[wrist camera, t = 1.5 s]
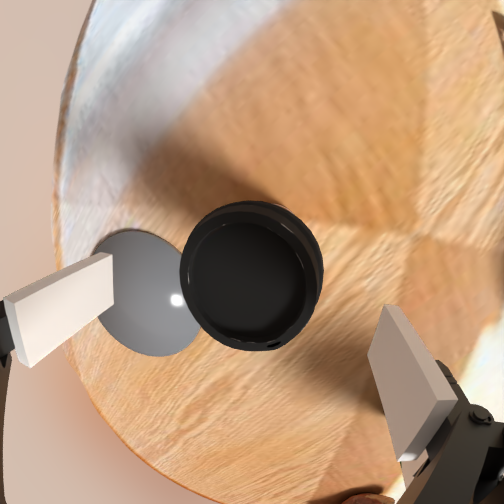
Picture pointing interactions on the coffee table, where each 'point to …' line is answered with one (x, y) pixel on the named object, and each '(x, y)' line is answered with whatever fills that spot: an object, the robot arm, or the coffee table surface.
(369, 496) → the reddish brown rock
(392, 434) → the robot arm
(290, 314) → the coffee cup
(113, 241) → the disc
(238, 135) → the coffee table surface
